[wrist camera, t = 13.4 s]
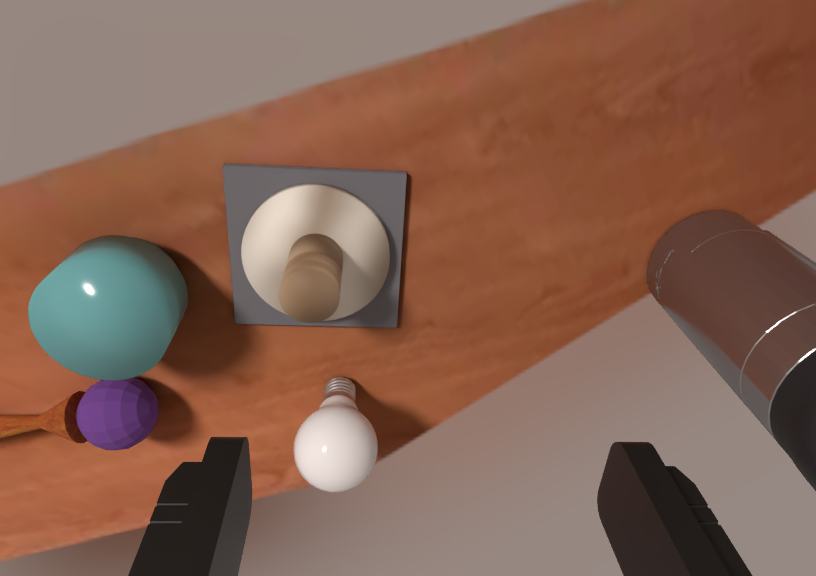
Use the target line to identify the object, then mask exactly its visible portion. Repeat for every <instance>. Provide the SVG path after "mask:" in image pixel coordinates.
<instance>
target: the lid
mask: <svg viewBox="0 0 816 576" xmlns="http://www.w3.org/2000/svg"><path fill="white" fill-rule="evenodd" d="M241 257H242V264H243V267H244V271H245V274H246V276H247V278H248V281H249V282H250V284H251V286H252V287H253V289H254V290H255V291H256V292H257V294H258V295H259V296H260V297H261V298H262V299H263V300H264V301H265V302H266V303H268V304H269V305H270V306H272V307H273V308H275V309H276V310H278V311H280V312H282V313H284V314H286V315H289V316H290V317H292V318H293V319H295V320H297V321H300V322H304V323H317V322H321V321H329V320H336V319H339V318H343V317H346V316H348V315H351V314H353V313H355V312H357V311H359V310H360V309H362V308H363V307H365V306H366V305H367V304H368V303H369V302H370V301H372V300H373V299H374V297H375V296H376V295H377V294H378V292H379V291H380V289H381V288H382V286H383V284H384V282H385V280H386V277H387V274H388V270H389V263H390V250H389V242H388V237H387V234H386V231H385V228H384V226H383V224H382V222H381V220H380V219H379V217H378V216H377V214H376V213H375V212H374V210H373V209H372V208H371V207H370V206H369V205H368V204H367V203H366V202H364V201H363V200H362V199H361V198H359V197H358V196H356V195H355V194H353V193H351V192H349V191H347V190H345V189H342V188H339V187H336V186H332V185H328V184H319V183H307V184H300V185H295V186H291V187H288V188H285V189H283V190H281V191H278V192H277V193H275V194H273V195H272V196H270V197H269V198H268V199H266V200H265V201H264V202H263V203H262V204H261V205H260V206H259V207H258V208H257V209H256V211H255V212H254V214H253V215H252V217H251V219H250V221H249V223H248V225H247V227H246V229H245V232H244V236H243V240H242V246H241Z"/></svg>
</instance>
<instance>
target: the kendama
mask: <svg viewBox="0 0 816 576" xmlns="http://www.w3.org/2000/svg"><path fill="white" fill-rule="evenodd" d="M158 414H159V406H158V401H157V397H156V395H155V393H154V392H153V391H152V390H151V389H150V388H149V387H148V386H147V385H146V384H145V383H144V382H143V381H142V380H139V379H136V378H129V379H124V380H101V381H99V382H97V383H96V384H94V385H93V386H91V387H89V389H88V390H87V391H86V392H82V391H79V392H76V393H74V394H72V395H71V396H69V397H68V398H66V399H65V400H63V401H62V402H60V403H59V404H57V405H56V406H54V407H53V408H51V409H50V410H48V411H47V412H45V413H44V414H42V415H0V439H1V438H5V437H9V436H13V435H17V434H21V433H26V432H30V431H34V430H38V429H44V430H46V431H49V432H51V433H54V434H56V435H59V436H61V437H64V438H66V439H69V440H71V441H74V442H76V443H84V442H86V441H89V442H90V443H91V444H93V445H94V446H96V447H99V448H102V449H105V450H120V449H129V448H130V447H132V446H134V445H136V444H137V443H139V442H141V441H142V440H144V439H145V438H146V437H147V436H148V435H149V433H150V432H151V430H152V429H153V427H154V426H155V424H156V422H157V419H158Z"/></svg>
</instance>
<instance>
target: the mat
mask: <svg viewBox="0 0 816 576" xmlns="http://www.w3.org/2000/svg"><path fill="white" fill-rule="evenodd" d="M223 178H224V190H225V202H226V215H227V227H228V239H229V252H230V264H231V277H232V289H233V301H234V314H235V324H266V325H307V326H348V327H389V328H397V317H398V302H399V286H400V271H401V255H402V240H403V224H404V209H405V194H406V178H407V173H406V172H405V171H383V170H360V169H338V168H316V167H294V166H272V165H250V164H227V163H224V165H223ZM307 183H319V184H328V185H332V186H336V187H339V188H342V189H345V190H347V191H349V192H351V193H353V194H355V195H356V196H358V197H359V198H361V199H362V200H363V201H364V202H366V203H367V204H368V205H369V206H370V207H371V208H372V209H373V210H374V212H375V213H376V214H377V216H378V217H379V219H380V220H381V222H382V224H383V226H384V228H385V231H386V234H387V237H388V242H389V250H390V263H389V270H388V274H387V277H386V280H385V282H384V284H383V286H382V288H381V289H380V291H379V292H378V294H377V295H376V296H375V297H374V299H373V300H372V301H370V302H369V303H368V304H367V305H366V306H365V307H363V308H362V309H360V310H359V311H357V312H355V313H353V314H351V315H348V316H346V317H343V318H339V319H336V320H329V321H321V322H317V323H304V322H300V321H297V320H295V319H293V318H292V317H290V316H289V315H286V314H284V313H282V312H280V311H278V310H276V309H275V308H273V307H272V306H270V305H269V304H268V303H266V302H265V301H264V300H263V299H262V298H261V297H260V296H259V295H258V294H257V292H256V291H255V290H254V289H253V287H252V286H251V284H250V282H249V281H248V278H247V276H246V274H245V271H244V267H243V264H242V257H241V246H242V240H243V236H244V232H245V229H246V227H247V225H248V223H249V221H250V219H251V217H252V215H253V214H254V212H255V211H256V209H257V208H258V207H259V206H260V205H261V204H262V203H263V202H264V201H265V200H266V199H268V198H269V197H270V196H272V195H273V194H275V193H277V192H278V191H281V190H283V189H285V188H288V187H291V186H295V185H300V184H307Z"/></svg>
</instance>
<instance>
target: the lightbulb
mask: <svg viewBox="0 0 816 576" xmlns="http://www.w3.org/2000/svg"><path fill="white" fill-rule="evenodd" d="M355 390H356V389H355V385H354V384H353V382H352V381H350V380H349V379H347V378H343V377H337V378H333V379H331V380H329V381H328V382H327V383H326V385H325V388H324V398H323V402H322V404H321V405H320V407H319V409H318V410H317V411H315V412H313V413H312V414H311V415H310V416H308V417H307V418H306V419H305V421H304V422H303V423H302V425H301V426H300V428H299V430H298V432H297V434H296V437H295V441H294V459H295V463H296V466H297V468H298V470H299V472H300V474H301V475H302V476H303V478H304V479H305V480H306V481H307V482H308V483H309V484H311V485H312V486H314V487H316V488H318V489H320V490H323V491H327V492H342V491H346V490H349V489H352V488H354V487H356V486H357V485H359V484H360V483H361V482H362V481H364V480H365V479H366V478H367V477H368V475H369V474H370V473H371V471H372V469H373V467H374V465H375V462H376V459H377V454H378V441H377V436H376V433H375V430H374V428H373V426H372V424H371V423H370V421H369V420H368V419H367V418H366V417H365V416H364V415H363V414H362V413H360V412H359V410H358V407H357V405H356V404H355V393H356V391H355Z"/></svg>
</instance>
